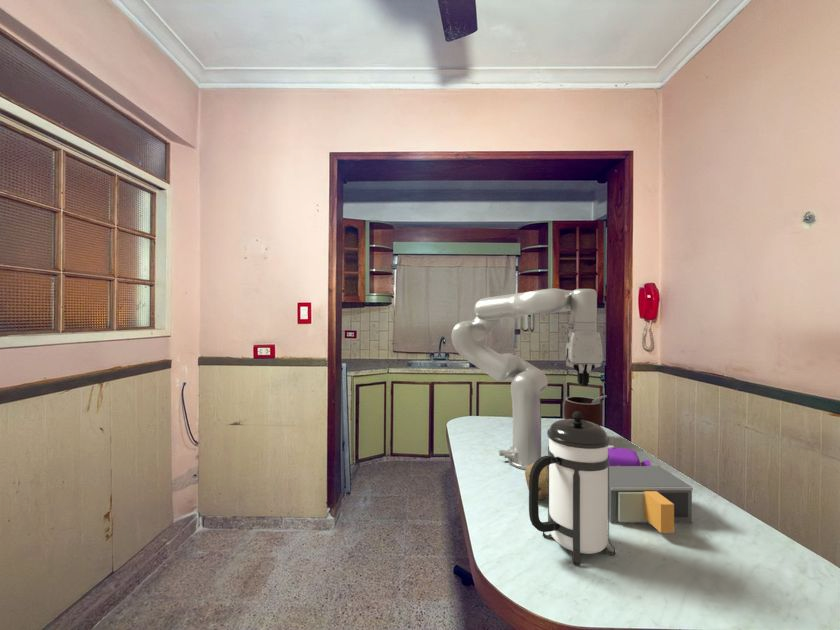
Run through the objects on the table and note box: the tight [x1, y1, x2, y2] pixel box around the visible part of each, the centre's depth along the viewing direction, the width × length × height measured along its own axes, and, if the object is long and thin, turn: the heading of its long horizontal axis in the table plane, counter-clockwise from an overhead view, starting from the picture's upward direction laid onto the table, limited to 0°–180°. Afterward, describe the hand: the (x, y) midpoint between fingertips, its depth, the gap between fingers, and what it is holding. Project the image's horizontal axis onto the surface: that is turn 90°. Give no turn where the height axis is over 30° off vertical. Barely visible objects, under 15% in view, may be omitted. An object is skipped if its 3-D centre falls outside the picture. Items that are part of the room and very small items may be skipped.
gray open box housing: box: [609, 465, 694, 524], centre depth 94 cm, size 22×12×9 cm, turn 90°
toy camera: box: [608, 444, 652, 466], centre depth 110 cm, size 11×14×10 cm
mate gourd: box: [563, 394, 607, 427], centre depth 144 cm, size 16×14×20 cm
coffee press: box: [528, 411, 616, 566], centre depth 80 cm, size 17×16×30 cm
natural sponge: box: [524, 462, 548, 500], centre depth 101 cm, size 9×9×10 cm
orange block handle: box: [618, 491, 675, 534], centre depth 85 cm, size 9×7×8 cm
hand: (583, 385), depth 114 cm, fingers closed
